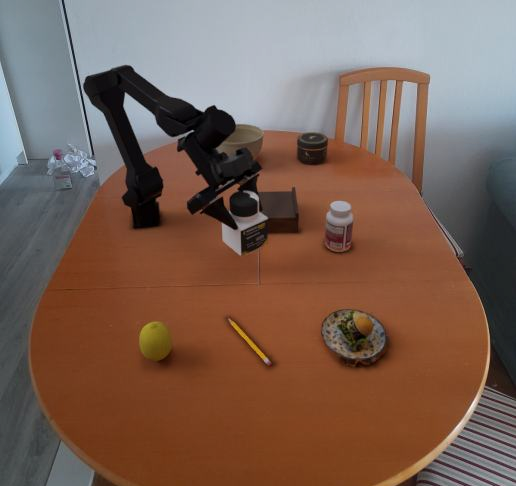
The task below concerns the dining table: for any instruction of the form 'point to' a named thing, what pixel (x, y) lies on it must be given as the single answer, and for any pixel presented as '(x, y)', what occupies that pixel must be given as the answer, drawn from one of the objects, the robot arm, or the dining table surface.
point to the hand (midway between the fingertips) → (249, 219)
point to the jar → (312, 147)
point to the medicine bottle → (246, 224)
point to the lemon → (155, 341)
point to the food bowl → (354, 336)
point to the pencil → (250, 343)
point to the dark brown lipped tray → (280, 211)
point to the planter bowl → (243, 140)
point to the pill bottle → (339, 226)
